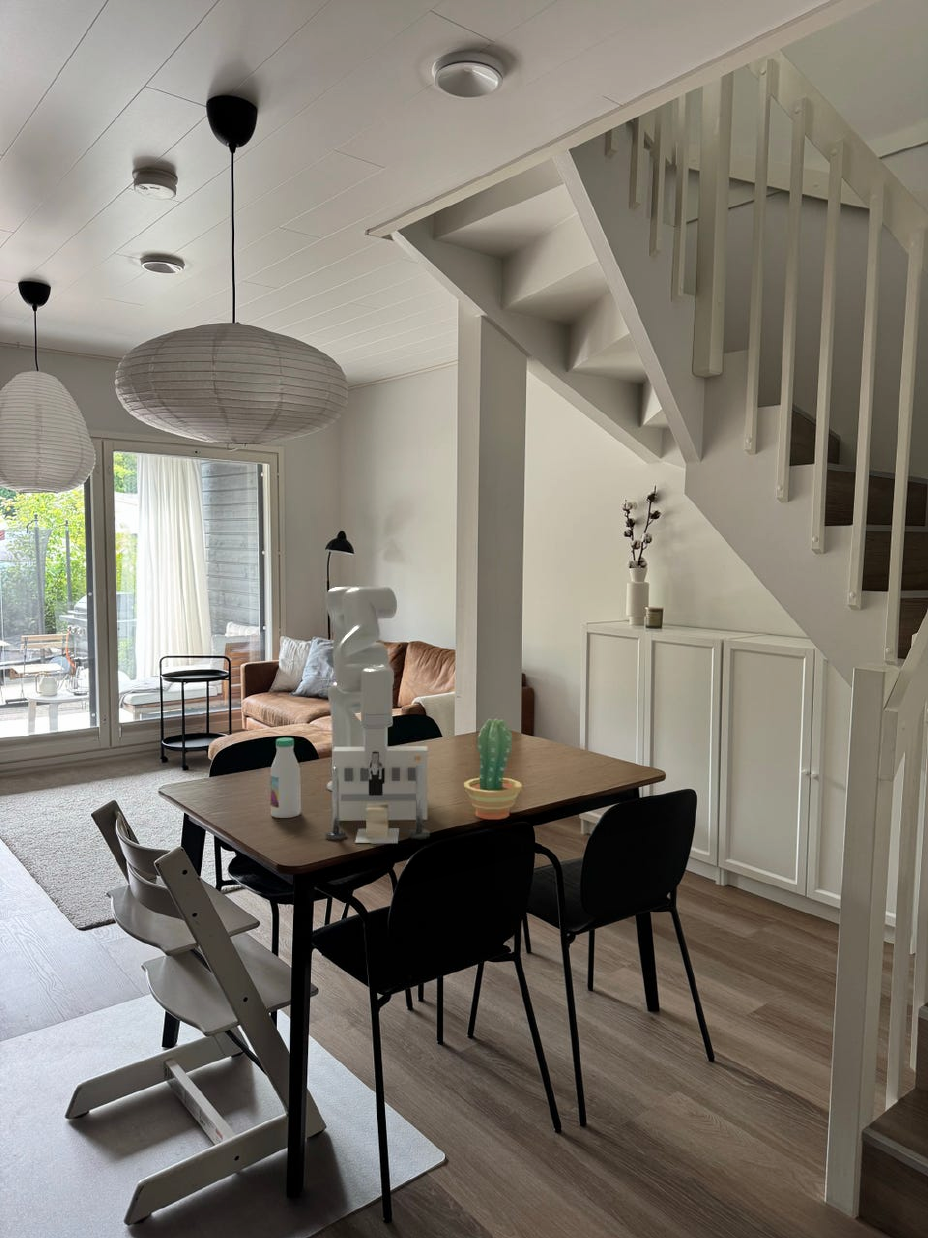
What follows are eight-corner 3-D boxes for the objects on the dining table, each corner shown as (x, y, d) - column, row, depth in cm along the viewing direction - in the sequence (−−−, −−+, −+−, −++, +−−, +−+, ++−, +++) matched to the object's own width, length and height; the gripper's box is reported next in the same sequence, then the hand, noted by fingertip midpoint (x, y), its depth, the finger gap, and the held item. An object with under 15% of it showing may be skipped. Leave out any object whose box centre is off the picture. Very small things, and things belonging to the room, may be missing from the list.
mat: (358, 830, 212) (358, 828, 212) (399, 829, 212) (399, 828, 212) (355, 843, 202) (354, 842, 202) (397, 843, 202) (397, 841, 202)
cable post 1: (326, 834, 209) (325, 765, 208) (347, 833, 209) (346, 765, 208) (324, 840, 204) (323, 770, 203) (345, 840, 204) (344, 770, 203)
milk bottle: (303, 810, 229) (302, 735, 228) (298, 818, 221) (297, 742, 220) (273, 810, 229) (272, 736, 227) (268, 819, 221) (267, 742, 220)
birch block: (367, 831, 209) (367, 803, 209) (388, 831, 210) (388, 803, 209) (366, 838, 205) (366, 809, 204) (387, 838, 205) (387, 809, 204)
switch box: (335, 815, 225) (334, 746, 223) (427, 813, 226) (427, 746, 224) (333, 821, 219) (332, 752, 218) (427, 820, 220) (427, 751, 219)
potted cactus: (533, 813, 226) (534, 719, 224) (496, 827, 214) (496, 728, 213) (488, 802, 236) (489, 712, 234) (450, 814, 225) (450, 720, 223)
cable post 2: (408, 833, 210) (408, 764, 209) (429, 832, 210) (429, 764, 209) (408, 839, 205) (408, 769, 204) (429, 839, 205) (429, 769, 204)
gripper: (363, 712, 214) (363, 779, 215) (358, 727, 196) (358, 800, 198) (393, 712, 214) (393, 779, 216) (390, 727, 197) (391, 800, 198)
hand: (376, 789), depth 207 cm, fingers open, 9 cm apart
